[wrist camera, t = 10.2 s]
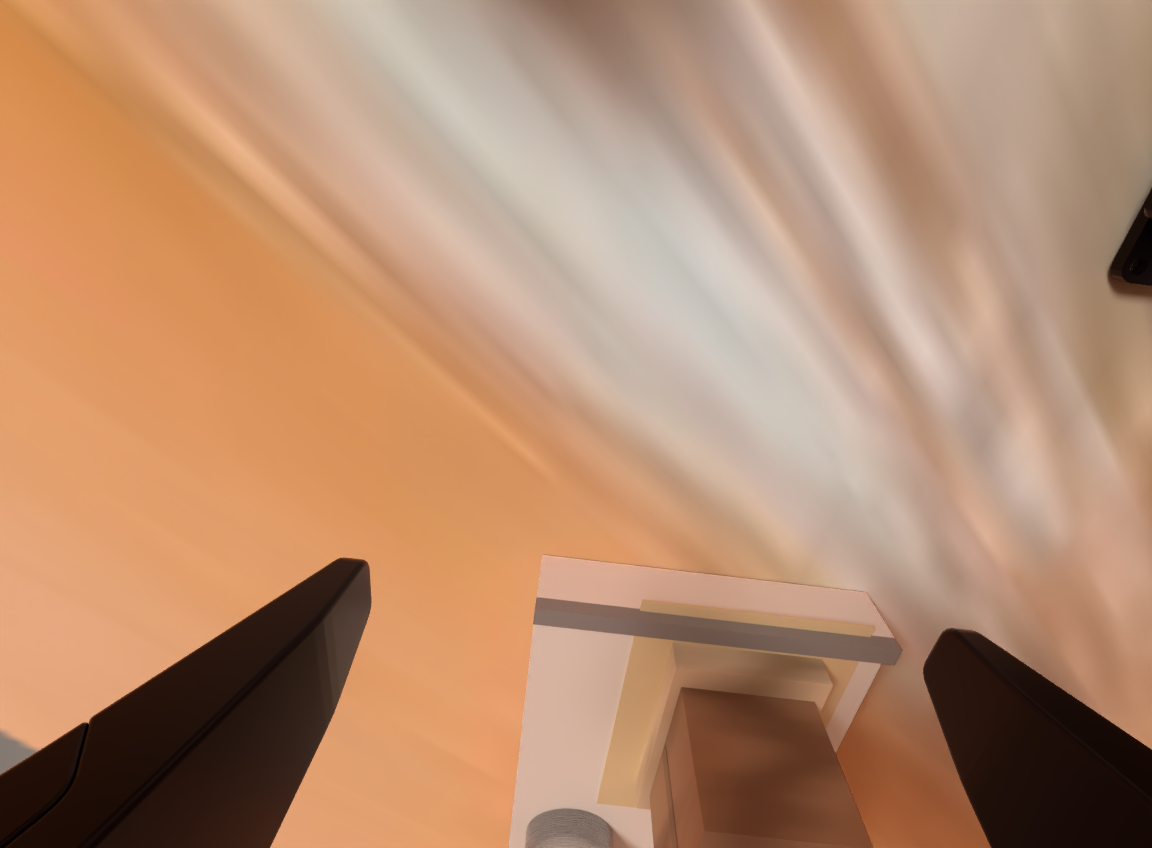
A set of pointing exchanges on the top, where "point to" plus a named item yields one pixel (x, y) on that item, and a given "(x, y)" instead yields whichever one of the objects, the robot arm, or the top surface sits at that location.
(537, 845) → the canister
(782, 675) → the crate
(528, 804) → the dock
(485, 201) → the top surface
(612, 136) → the top surface
